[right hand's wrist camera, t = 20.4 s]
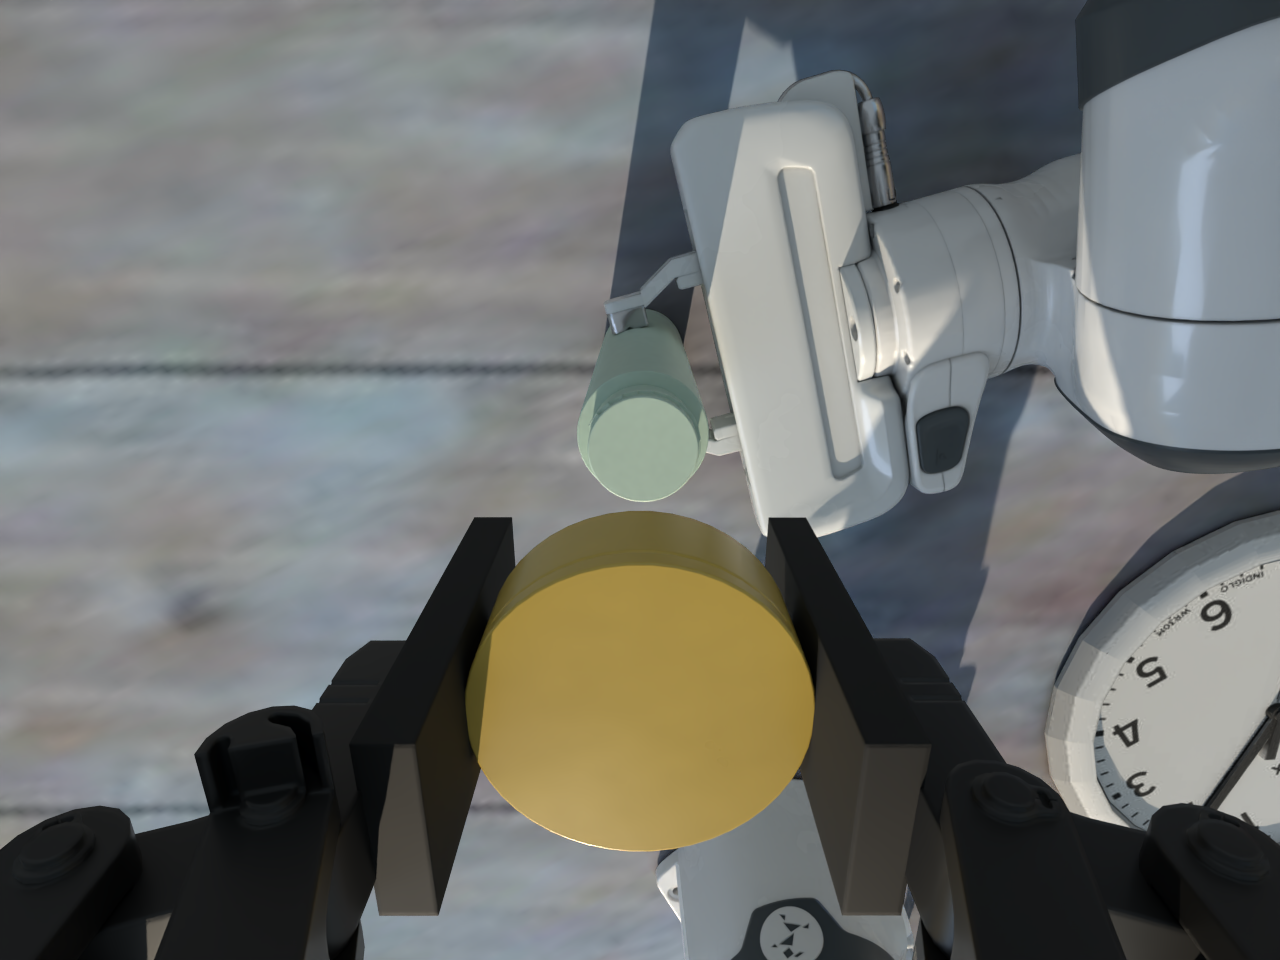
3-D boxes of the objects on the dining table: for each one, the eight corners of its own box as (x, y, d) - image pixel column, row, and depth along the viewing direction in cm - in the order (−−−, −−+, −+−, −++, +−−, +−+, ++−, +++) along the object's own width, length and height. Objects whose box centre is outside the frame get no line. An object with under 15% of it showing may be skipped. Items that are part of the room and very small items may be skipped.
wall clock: (1443, 412, 40) (1588, 745, 48) (1413, 405, 41) (1559, 728, 49) (975, 692, 46) (1172, 943, 54) (964, 677, 48) (1157, 923, 56)
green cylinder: (697, 335, 40) (741, 428, 22) (655, 402, 41) (665, 538, 24) (629, 292, 39) (618, 353, 22) (588, 362, 41) (547, 472, 23)
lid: (425, 636, 12) (389, 706, 10) (654, 445, 11) (657, 488, 9) (627, 811, 13) (625, 901, 12) (850, 659, 12) (886, 733, 11)
